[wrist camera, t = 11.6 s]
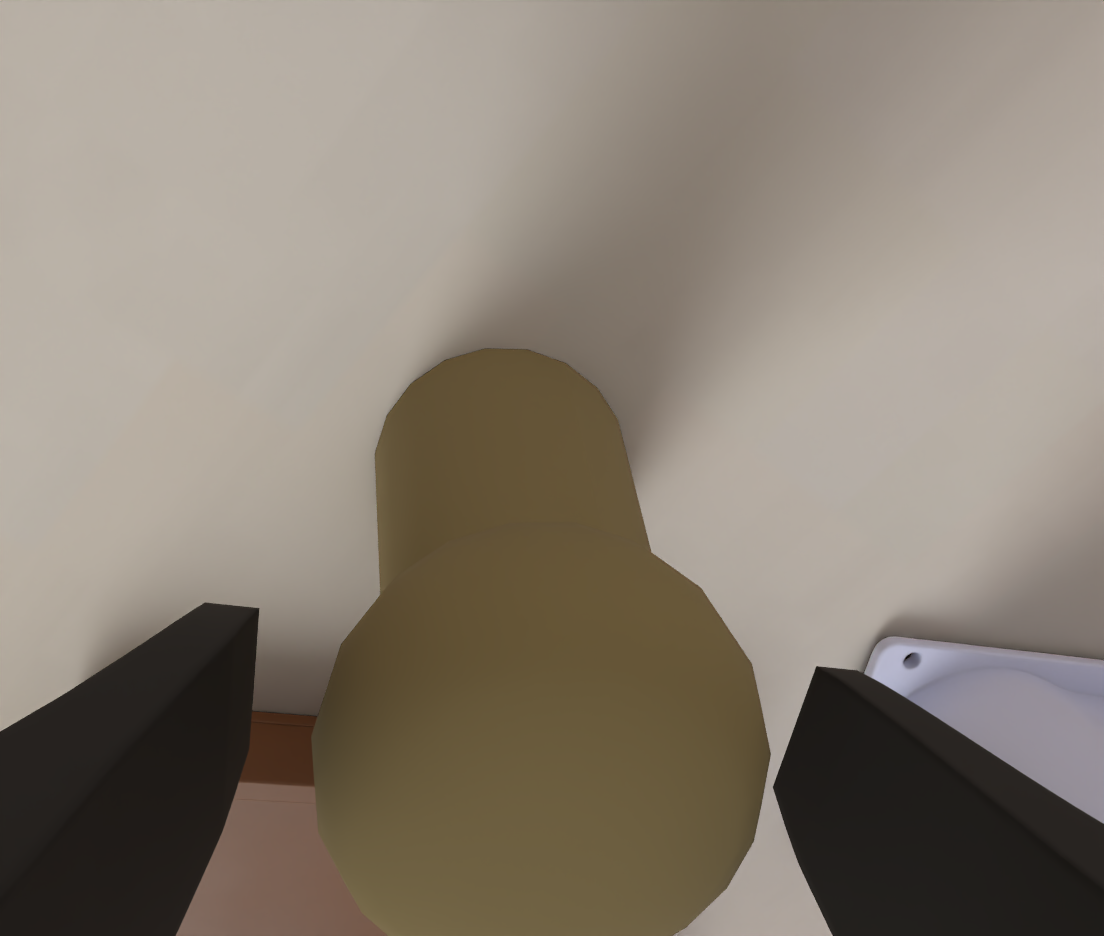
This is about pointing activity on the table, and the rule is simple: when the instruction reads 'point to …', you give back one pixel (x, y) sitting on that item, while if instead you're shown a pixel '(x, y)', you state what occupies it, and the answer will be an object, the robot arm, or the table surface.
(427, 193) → the table surface
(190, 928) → the tray
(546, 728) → the olive rounded cylinder
